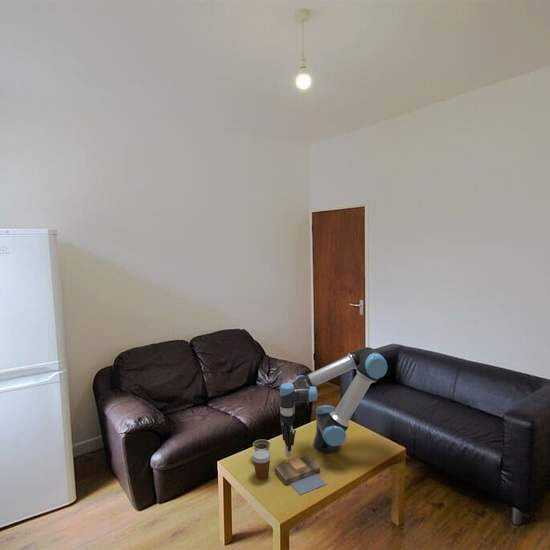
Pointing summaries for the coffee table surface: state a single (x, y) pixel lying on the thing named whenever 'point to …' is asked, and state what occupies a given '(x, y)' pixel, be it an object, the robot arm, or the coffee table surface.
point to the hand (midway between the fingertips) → (288, 455)
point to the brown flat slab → (291, 476)
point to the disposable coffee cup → (261, 463)
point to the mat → (308, 484)
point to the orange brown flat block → (296, 464)
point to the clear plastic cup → (261, 444)
